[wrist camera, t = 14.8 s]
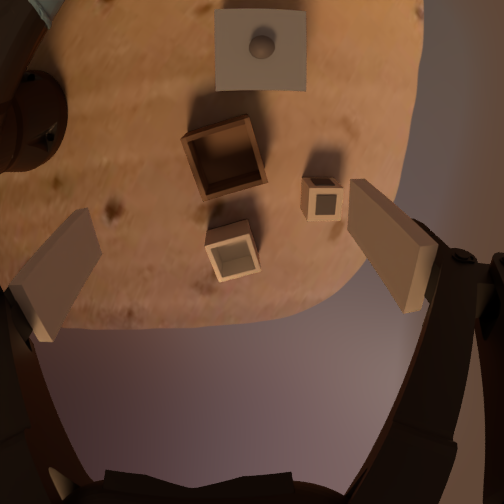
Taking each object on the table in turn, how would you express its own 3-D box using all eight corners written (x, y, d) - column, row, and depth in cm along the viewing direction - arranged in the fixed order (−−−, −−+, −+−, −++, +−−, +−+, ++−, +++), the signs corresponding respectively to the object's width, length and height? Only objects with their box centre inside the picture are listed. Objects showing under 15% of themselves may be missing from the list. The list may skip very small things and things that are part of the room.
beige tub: (206, 230, 44) (204, 246, 40) (247, 219, 43) (249, 233, 40) (220, 264, 47) (219, 282, 43) (258, 254, 46) (261, 271, 43)
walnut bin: (186, 132, 37) (180, 139, 33) (247, 113, 36) (249, 117, 32) (206, 188, 41) (202, 201, 37) (264, 171, 40) (268, 182, 36)
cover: (218, 24, 30) (213, 6, 22) (291, 25, 30) (308, 8, 22) (219, 90, 34) (215, 91, 26) (291, 90, 35) (308, 91, 27)
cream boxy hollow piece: (301, 176, 41) (309, 186, 37) (333, 176, 41) (344, 187, 37) (300, 208, 43) (307, 222, 39) (330, 207, 43) (341, 221, 39)
